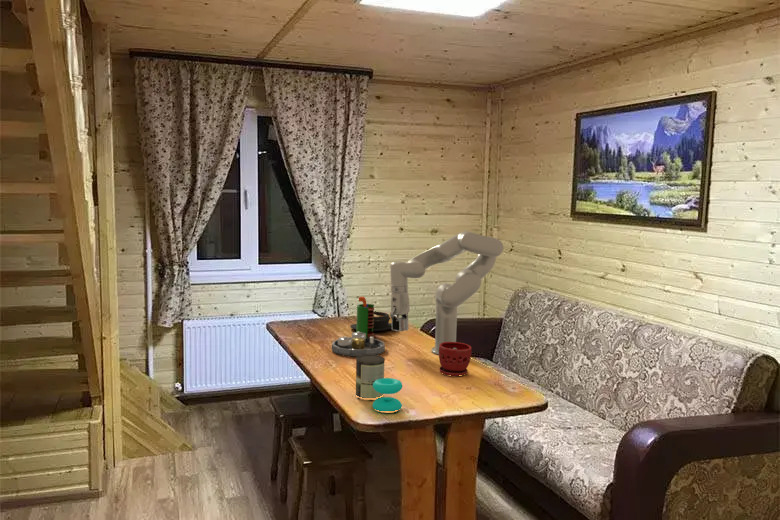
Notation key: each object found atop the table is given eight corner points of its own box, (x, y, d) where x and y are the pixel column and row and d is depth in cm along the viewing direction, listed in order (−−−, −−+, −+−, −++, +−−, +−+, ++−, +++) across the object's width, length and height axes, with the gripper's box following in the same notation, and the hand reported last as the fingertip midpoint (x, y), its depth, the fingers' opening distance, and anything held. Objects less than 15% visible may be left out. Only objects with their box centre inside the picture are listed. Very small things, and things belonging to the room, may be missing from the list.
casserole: (354, 334, 334) (354, 318, 333) (346, 326, 352) (347, 311, 351) (401, 333, 341) (402, 316, 340) (392, 325, 359) (392, 310, 358)
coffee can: (349, 396, 238) (350, 358, 236) (368, 390, 246) (369, 353, 244) (371, 403, 232) (371, 363, 230) (389, 396, 240) (390, 358, 238)
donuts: (408, 383, 223) (382, 387, 217) (407, 411, 224) (382, 416, 219) (392, 375, 231) (367, 379, 226) (391, 403, 232) (367, 407, 227)
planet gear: (411, 328, 301) (411, 317, 301) (403, 332, 295) (403, 321, 294) (396, 327, 305) (396, 316, 304) (388, 330, 298) (388, 319, 298)
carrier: (393, 348, 308) (394, 333, 308) (367, 360, 287) (368, 343, 286) (349, 341, 320) (349, 326, 319) (321, 352, 299) (321, 336, 298)
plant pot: (444, 379, 262) (445, 349, 260) (433, 370, 274) (434, 341, 273) (475, 377, 265) (476, 348, 264) (463, 368, 278) (464, 340, 276)
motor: (373, 339, 325) (374, 299, 323) (355, 338, 326) (356, 298, 323) (374, 334, 335) (375, 295, 333) (356, 334, 336) (357, 295, 333)
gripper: (397, 292, 288) (398, 332, 290) (415, 286, 303) (416, 324, 305) (382, 291, 292) (383, 331, 294) (400, 285, 307) (401, 323, 309)
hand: (400, 327), depth 300 cm, fingers closed on planet gear, 7 cm apart
